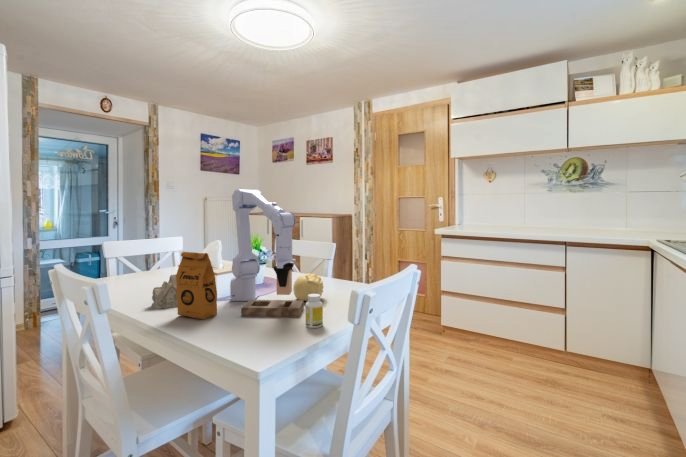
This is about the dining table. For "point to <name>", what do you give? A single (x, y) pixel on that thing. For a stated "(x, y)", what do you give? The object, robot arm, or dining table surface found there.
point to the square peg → (288, 288)
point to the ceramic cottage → (165, 294)
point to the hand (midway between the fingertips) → (284, 284)
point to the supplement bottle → (314, 311)
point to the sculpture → (307, 286)
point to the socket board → (273, 308)
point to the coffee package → (196, 286)
